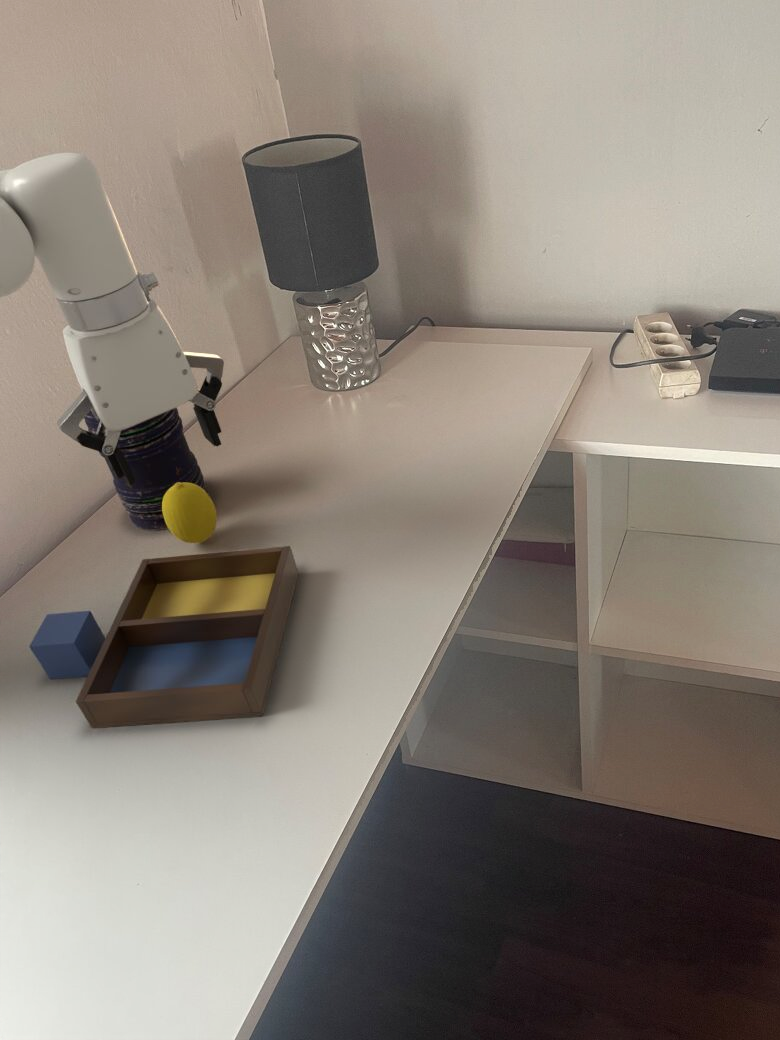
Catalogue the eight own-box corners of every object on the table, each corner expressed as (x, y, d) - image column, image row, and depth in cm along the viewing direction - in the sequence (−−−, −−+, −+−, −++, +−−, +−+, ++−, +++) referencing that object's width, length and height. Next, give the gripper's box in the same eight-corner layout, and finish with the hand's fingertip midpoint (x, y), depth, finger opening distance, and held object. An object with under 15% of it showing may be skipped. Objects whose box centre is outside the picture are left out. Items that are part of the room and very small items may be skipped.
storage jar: (174, 537, 99) (124, 423, 90) (112, 523, 104) (58, 412, 94) (226, 489, 106) (185, 378, 96) (166, 478, 110) (121, 369, 100)
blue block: (49, 679, 84) (28, 646, 81) (66, 646, 87) (46, 614, 84) (93, 676, 83) (73, 642, 81) (108, 643, 87) (90, 610, 84)
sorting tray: (91, 728, 78) (75, 701, 76) (154, 585, 93) (142, 559, 91) (262, 716, 76) (251, 688, 74) (298, 572, 91) (290, 545, 89)
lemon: (169, 545, 99) (143, 486, 93) (210, 521, 101) (187, 463, 96) (192, 564, 95) (166, 504, 90) (234, 539, 98) (212, 480, 92)
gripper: (176, 263, 85) (231, 415, 97) (3, 327, 79) (83, 481, 91) (205, 280, 80) (259, 439, 92) (23, 350, 74) (105, 511, 86)
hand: (172, 460), depth 91 cm, fingers open, 9 cm apart
